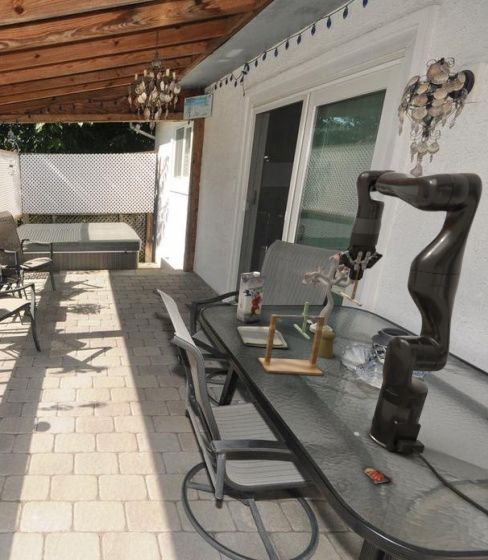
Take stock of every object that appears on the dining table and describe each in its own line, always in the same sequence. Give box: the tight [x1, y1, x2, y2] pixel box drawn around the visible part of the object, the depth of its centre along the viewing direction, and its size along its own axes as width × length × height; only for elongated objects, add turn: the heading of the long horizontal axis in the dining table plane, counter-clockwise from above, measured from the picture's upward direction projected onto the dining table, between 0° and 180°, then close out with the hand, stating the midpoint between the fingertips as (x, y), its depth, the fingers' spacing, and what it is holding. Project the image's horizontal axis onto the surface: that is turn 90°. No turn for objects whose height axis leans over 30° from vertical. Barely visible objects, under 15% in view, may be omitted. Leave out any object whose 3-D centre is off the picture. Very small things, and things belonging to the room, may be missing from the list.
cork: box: [317, 330, 337, 359], centre depth 149 cm, size 6×6×11 cm
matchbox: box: [363, 467, 392, 485], centre depth 91 cm, size 5×5×1 cm
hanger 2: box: [339, 266, 363, 307], centre depth 125 cm, size 12×1×13 cm, turn 173°
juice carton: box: [236, 271, 267, 324], centre depth 184 cm, size 9×10×27 cm
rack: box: [258, 313, 325, 376], centre depth 139 cm, size 10×20×23 cm, turn 82°
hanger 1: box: [293, 301, 311, 341], centre depth 135 cm, size 12×1×13 cm, turn 172°
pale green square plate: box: [236, 326, 289, 350], centre depth 166 cm, size 19×18×3 cm
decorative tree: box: [301, 251, 351, 334], centre depth 168 cm, size 28×24×40 cm
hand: (355, 279), depth 125 cm, fingers closed on hanger 2, 1 cm apart
